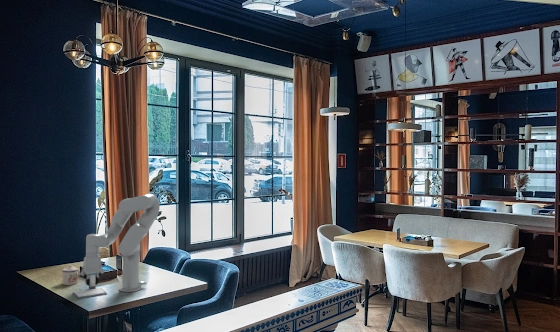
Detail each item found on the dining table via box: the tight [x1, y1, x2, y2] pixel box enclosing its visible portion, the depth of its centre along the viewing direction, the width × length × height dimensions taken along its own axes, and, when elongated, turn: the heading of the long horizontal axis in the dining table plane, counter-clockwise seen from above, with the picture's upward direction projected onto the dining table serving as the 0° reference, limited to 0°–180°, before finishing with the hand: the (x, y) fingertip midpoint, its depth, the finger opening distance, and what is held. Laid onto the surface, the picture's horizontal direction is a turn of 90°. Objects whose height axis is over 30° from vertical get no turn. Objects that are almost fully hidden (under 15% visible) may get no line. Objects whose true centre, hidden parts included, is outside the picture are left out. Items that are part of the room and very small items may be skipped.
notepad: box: [72, 287, 108, 300], centre depth 272 cm, size 16×12×1 cm
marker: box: [88, 273, 97, 290], centre depth 282 cm, size 4×4×12 cm
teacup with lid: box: [61, 264, 81, 286], centre depth 294 cm, size 12×9×12 cm
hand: (92, 284), depth 283 cm, fingers closed on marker, 3 cm apart
